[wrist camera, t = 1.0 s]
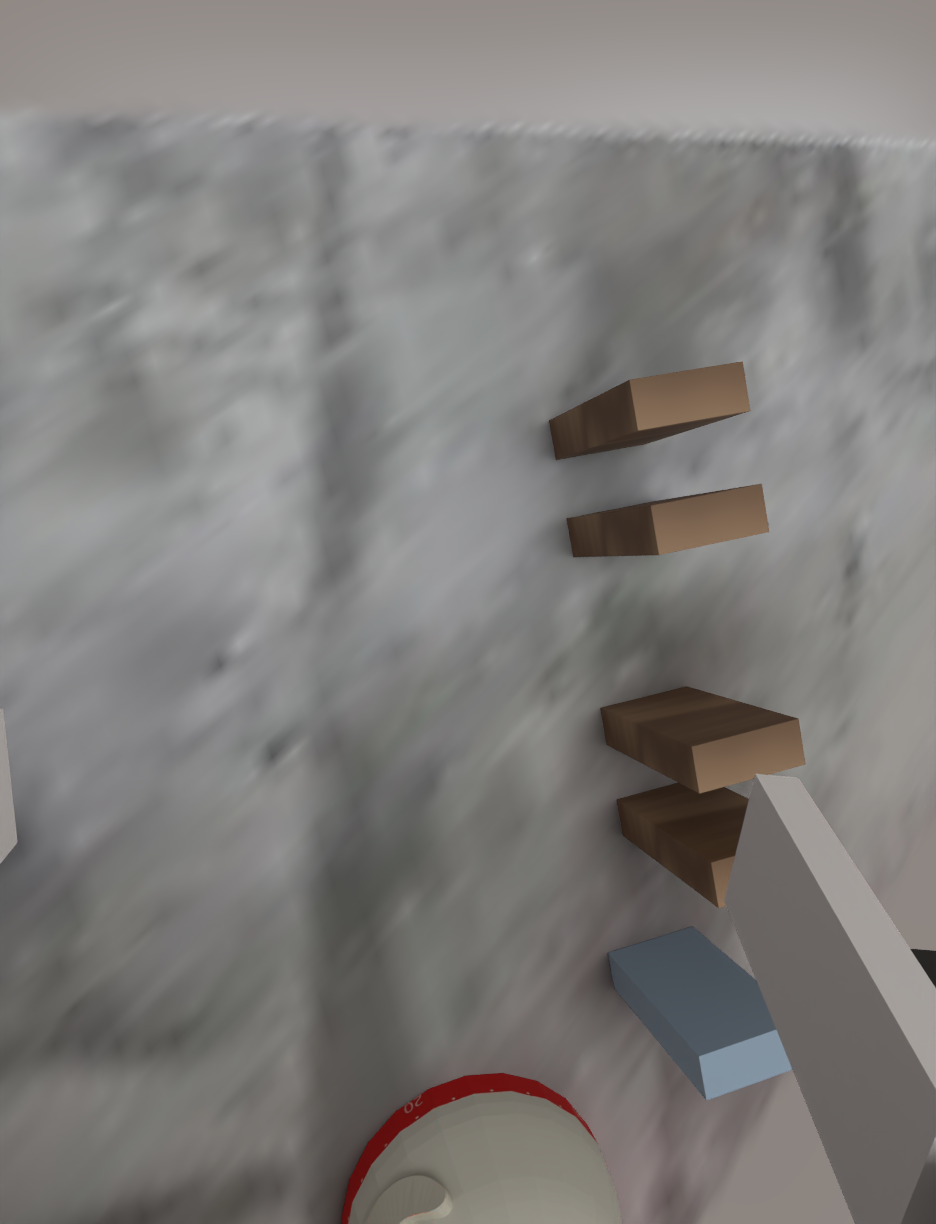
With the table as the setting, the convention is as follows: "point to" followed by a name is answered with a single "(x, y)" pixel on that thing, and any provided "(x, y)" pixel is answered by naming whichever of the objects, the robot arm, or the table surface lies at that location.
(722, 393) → the domino
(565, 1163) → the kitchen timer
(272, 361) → the table surface
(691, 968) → the domino
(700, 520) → the domino
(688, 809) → the domino
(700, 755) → the domino
